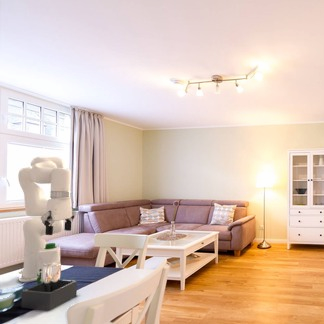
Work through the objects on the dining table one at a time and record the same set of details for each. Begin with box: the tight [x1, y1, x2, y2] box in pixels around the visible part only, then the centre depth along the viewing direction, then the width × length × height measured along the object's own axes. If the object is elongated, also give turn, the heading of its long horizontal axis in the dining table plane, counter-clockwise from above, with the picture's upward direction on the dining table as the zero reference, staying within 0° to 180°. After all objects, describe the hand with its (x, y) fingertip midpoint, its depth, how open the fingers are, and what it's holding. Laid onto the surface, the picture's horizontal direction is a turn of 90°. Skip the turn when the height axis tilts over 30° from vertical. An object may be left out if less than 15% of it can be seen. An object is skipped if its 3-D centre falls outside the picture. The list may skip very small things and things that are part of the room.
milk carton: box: [36, 242, 61, 285], centre depth 135 cm, size 9×9×20 cm
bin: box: [20, 279, 78, 311], centre depth 118 cm, size 14×14×7 cm
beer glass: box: [41, 261, 62, 292], centre depth 118 cm, size 7×7×15 cm
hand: (58, 232), depth 125 cm, fingers open, 9 cm apart
